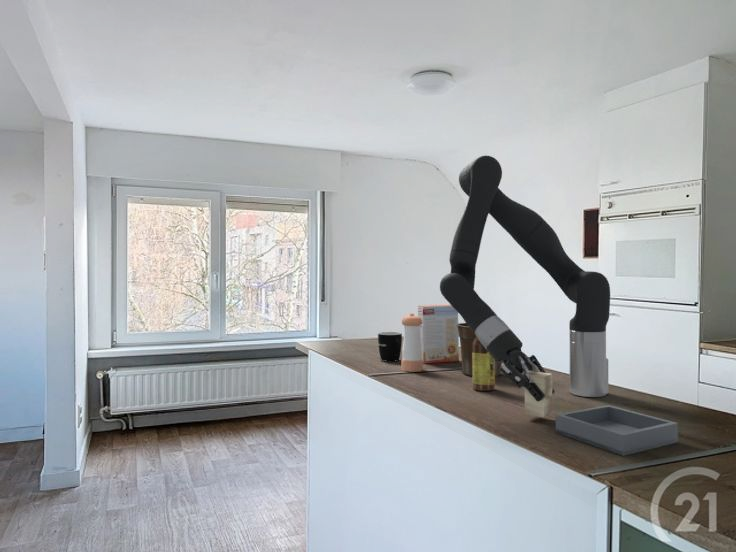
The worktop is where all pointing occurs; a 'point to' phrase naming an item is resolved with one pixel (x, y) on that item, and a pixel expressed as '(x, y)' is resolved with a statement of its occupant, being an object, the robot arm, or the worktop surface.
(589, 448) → the worktop surface
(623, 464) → the worktop surface
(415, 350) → the pepper shaker
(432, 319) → the cracker box
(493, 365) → the sauce bottle
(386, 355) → the mug
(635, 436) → the box
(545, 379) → the maple block
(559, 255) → the robot arm
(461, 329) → the plant pot
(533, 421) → the worktop surface
